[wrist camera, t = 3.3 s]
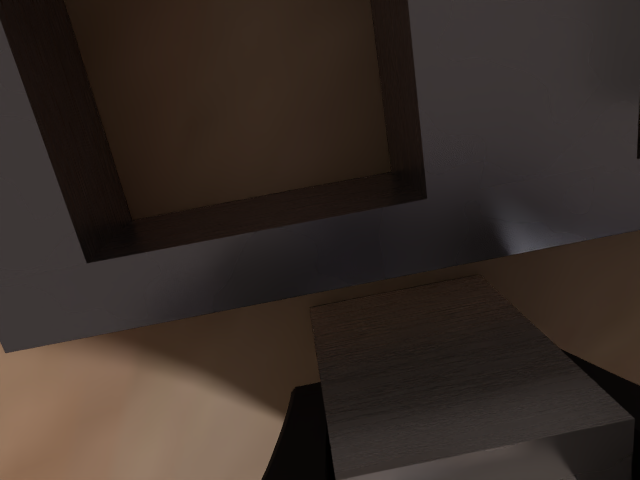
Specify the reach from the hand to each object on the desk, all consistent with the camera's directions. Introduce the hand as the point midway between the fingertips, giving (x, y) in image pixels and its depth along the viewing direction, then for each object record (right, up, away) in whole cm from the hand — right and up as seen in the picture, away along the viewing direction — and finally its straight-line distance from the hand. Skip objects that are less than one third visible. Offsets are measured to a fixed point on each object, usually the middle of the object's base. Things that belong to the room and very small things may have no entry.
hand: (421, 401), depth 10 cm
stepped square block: (0, 0, +1) cm, 1 cm away
